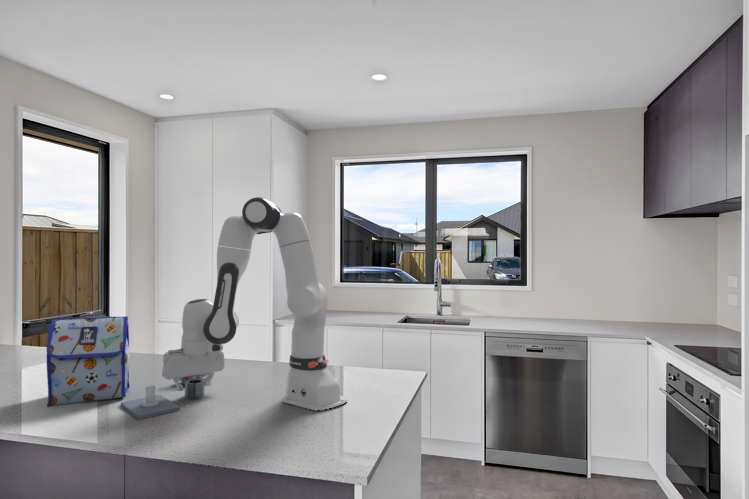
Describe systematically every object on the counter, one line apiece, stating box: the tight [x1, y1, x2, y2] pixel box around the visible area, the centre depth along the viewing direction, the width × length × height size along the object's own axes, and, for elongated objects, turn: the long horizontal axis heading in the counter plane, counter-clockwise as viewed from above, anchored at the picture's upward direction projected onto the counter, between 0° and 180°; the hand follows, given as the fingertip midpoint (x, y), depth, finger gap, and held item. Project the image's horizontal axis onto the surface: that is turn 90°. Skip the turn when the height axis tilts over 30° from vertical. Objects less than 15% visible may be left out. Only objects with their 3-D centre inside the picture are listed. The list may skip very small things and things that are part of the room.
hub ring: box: [184, 379, 206, 400], centre depth 154 cm, size 6×6×5 cm
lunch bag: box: [46, 315, 131, 407], centre depth 150 cm, size 23×17×27 cm
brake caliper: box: [179, 373, 208, 386], centre depth 170 cm, size 11×11×12 cm
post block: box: [120, 385, 181, 420], centre depth 142 cm, size 16×12×6 cm
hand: (193, 388), depth 154 cm, fingers open, 8 cm apart
